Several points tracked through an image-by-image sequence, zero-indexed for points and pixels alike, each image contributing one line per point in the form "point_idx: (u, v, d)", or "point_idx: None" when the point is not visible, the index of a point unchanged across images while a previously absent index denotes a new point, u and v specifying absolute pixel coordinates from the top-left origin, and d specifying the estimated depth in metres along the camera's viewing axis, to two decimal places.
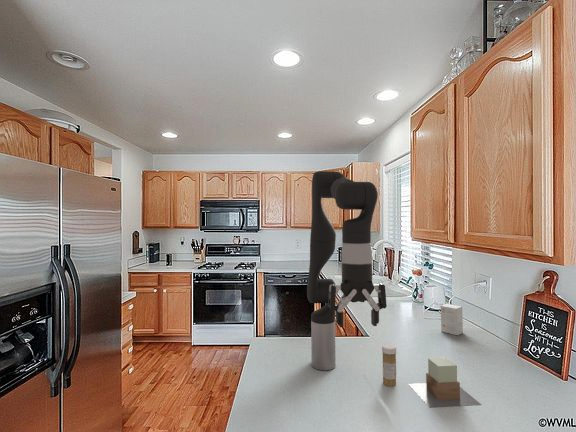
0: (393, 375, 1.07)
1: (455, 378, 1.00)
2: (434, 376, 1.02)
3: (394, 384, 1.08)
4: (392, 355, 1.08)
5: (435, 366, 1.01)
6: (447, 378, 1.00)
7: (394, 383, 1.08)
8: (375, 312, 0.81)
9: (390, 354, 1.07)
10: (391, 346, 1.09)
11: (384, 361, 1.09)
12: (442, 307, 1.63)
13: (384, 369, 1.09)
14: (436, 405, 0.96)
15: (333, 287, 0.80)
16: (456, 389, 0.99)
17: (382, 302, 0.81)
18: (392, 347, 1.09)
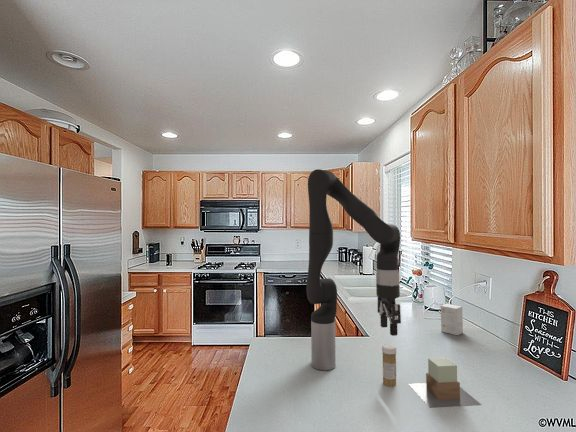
0: (393, 375, 1.07)
1: (455, 378, 1.00)
2: (434, 376, 1.02)
3: (394, 384, 1.08)
4: (392, 355, 1.08)
5: (435, 366, 1.01)
6: (447, 378, 1.00)
7: (394, 383, 1.08)
8: None
9: (390, 354, 1.07)
10: (391, 346, 1.09)
11: (384, 361, 1.09)
12: (442, 307, 1.63)
13: (384, 369, 1.09)
14: (436, 405, 0.96)
15: None
16: (456, 389, 0.99)
17: None
18: (392, 347, 1.09)
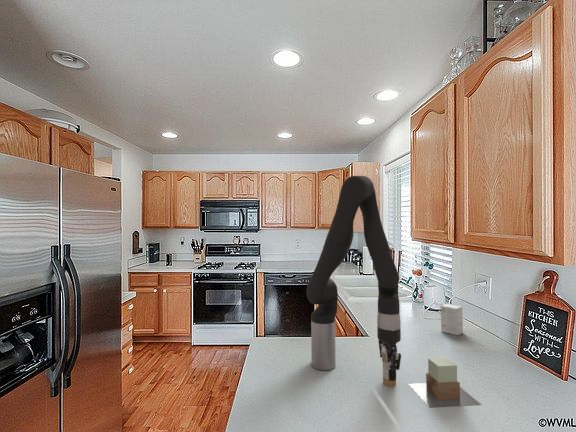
0: None
1: (455, 378, 1.00)
2: (434, 376, 1.02)
3: (394, 384, 1.08)
4: None
5: (435, 366, 1.01)
6: (447, 378, 1.00)
7: (394, 383, 1.08)
8: None
9: None
10: None
11: (384, 361, 1.09)
12: (442, 307, 1.63)
13: (384, 369, 1.09)
14: (436, 405, 0.96)
15: None
16: (456, 389, 0.99)
17: None
18: None
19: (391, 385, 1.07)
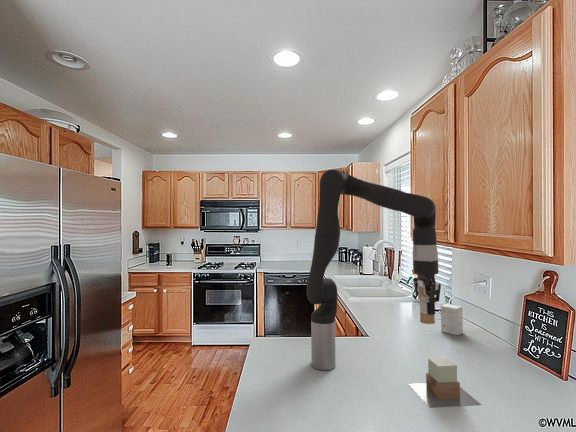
0: None
1: (455, 378, 1.00)
2: (434, 376, 1.02)
3: (433, 319, 1.02)
4: None
5: (435, 366, 1.01)
6: (447, 378, 1.00)
7: (433, 318, 1.02)
8: None
9: None
10: None
11: (421, 295, 1.04)
12: (442, 307, 1.63)
13: (421, 304, 1.03)
14: (436, 405, 0.96)
15: None
16: (456, 389, 0.99)
17: None
18: None
19: (430, 320, 1.02)
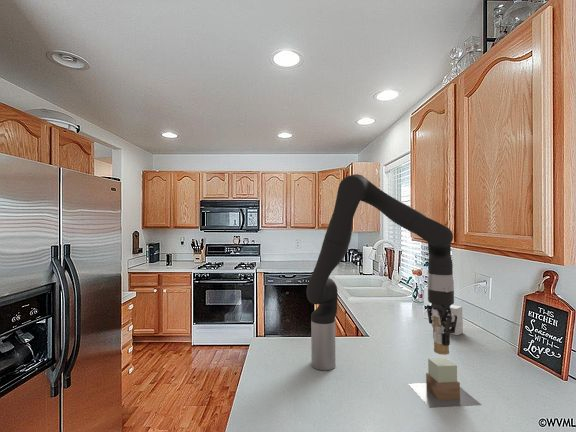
0: None
1: (455, 378, 1.00)
2: (434, 376, 1.02)
3: (447, 349, 1.01)
4: None
5: (435, 366, 1.01)
6: (447, 378, 1.00)
7: (447, 348, 1.01)
8: None
9: None
10: None
11: (436, 325, 1.02)
12: None
13: (436, 334, 1.02)
14: (436, 405, 0.96)
15: None
16: (456, 389, 0.99)
17: None
18: None
19: (444, 350, 1.01)
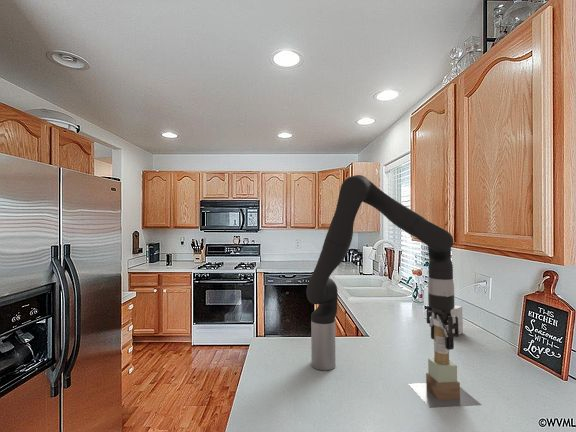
0: (447, 349, 1.01)
1: (455, 378, 1.00)
2: (434, 376, 1.02)
3: (447, 359, 1.01)
4: None
5: (435, 366, 1.01)
6: (447, 378, 1.00)
7: (447, 358, 1.01)
8: None
9: None
10: None
11: (436, 335, 1.02)
12: None
13: (436, 343, 1.02)
14: (436, 405, 0.96)
15: None
16: (456, 389, 0.99)
17: None
18: None
19: (444, 360, 1.01)
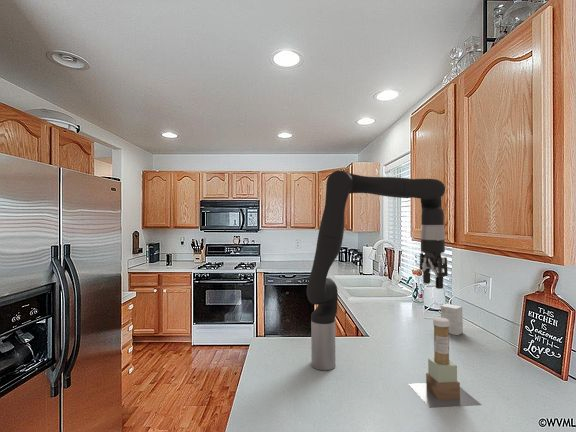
0: (446, 349, 1.01)
1: (455, 378, 1.00)
2: (434, 376, 1.02)
3: (447, 359, 1.01)
4: (445, 328, 1.01)
5: (435, 366, 1.01)
6: (447, 378, 1.00)
7: (447, 358, 1.01)
8: None
9: (443, 327, 1.01)
10: (443, 319, 1.03)
11: (436, 335, 1.02)
12: (442, 307, 1.63)
13: (436, 343, 1.02)
14: (436, 405, 0.96)
15: None
16: (456, 389, 0.99)
17: None
18: (445, 320, 1.02)
19: (444, 360, 1.01)
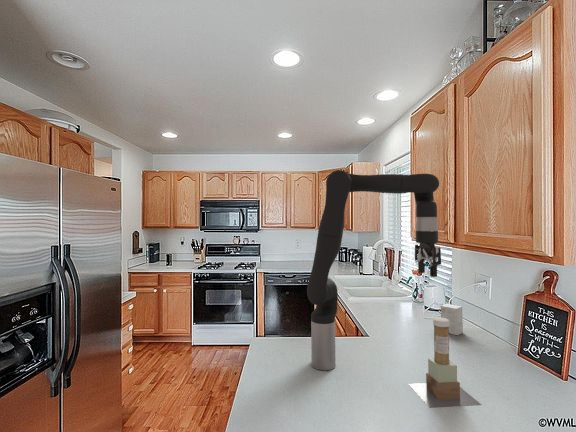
0: (446, 349, 1.01)
1: (455, 378, 1.00)
2: (434, 376, 1.02)
3: (447, 359, 1.01)
4: (445, 328, 1.01)
5: (435, 366, 1.01)
6: (447, 378, 1.00)
7: (447, 358, 1.01)
8: None
9: (443, 327, 1.01)
10: (443, 319, 1.03)
11: (436, 335, 1.02)
12: (442, 307, 1.63)
13: (436, 343, 1.02)
14: (436, 405, 0.96)
15: None
16: (456, 389, 0.99)
17: None
18: (445, 320, 1.02)
19: (444, 360, 1.01)
